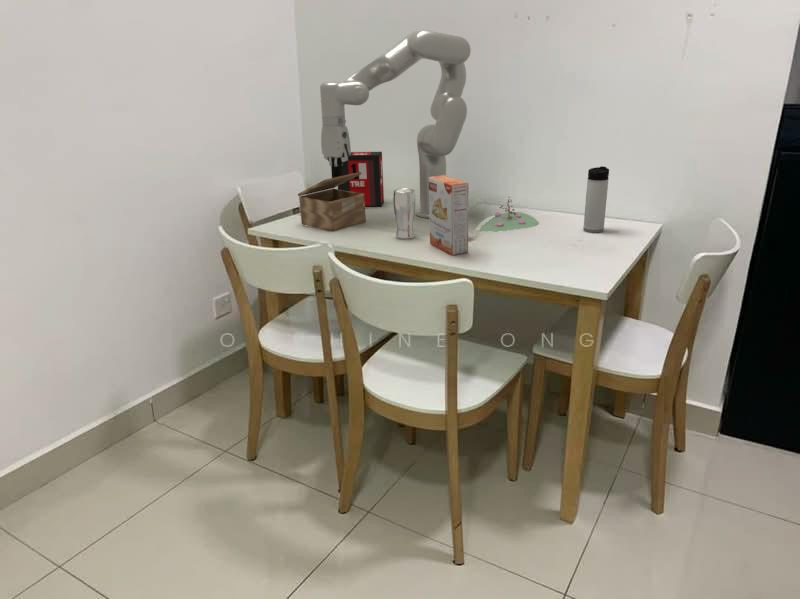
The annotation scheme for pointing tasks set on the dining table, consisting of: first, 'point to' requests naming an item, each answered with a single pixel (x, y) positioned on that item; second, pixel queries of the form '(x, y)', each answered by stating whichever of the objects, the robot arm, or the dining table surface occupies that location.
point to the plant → (509, 221)
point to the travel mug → (596, 199)
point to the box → (332, 209)
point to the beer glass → (404, 212)
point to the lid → (329, 183)
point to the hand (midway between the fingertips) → (336, 177)
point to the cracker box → (448, 214)
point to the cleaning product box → (365, 177)
